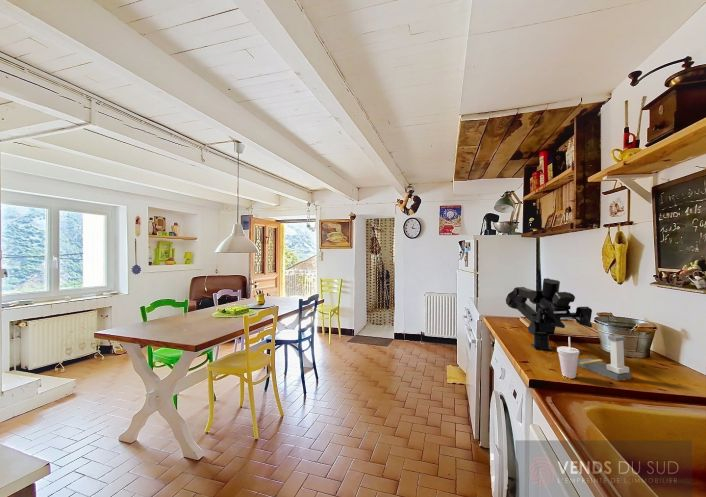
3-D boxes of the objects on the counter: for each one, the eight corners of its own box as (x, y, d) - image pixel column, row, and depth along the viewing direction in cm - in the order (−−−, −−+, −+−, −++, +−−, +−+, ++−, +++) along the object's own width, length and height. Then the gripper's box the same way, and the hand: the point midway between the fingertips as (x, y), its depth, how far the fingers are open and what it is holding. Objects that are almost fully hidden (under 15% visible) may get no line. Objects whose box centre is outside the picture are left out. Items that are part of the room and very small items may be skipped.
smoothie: (584, 381, 101) (583, 340, 101) (563, 380, 102) (561, 339, 102) (574, 373, 107) (573, 334, 107) (554, 372, 108) (552, 334, 108)
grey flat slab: (574, 365, 113) (573, 359, 113) (593, 362, 115) (593, 356, 115) (613, 382, 100) (613, 375, 100) (634, 378, 102) (634, 371, 102)
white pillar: (606, 369, 104) (605, 335, 104) (616, 367, 105) (615, 334, 105) (618, 373, 100) (617, 339, 100) (629, 372, 101) (628, 337, 101)
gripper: (530, 289, 122) (552, 306, 107) (579, 287, 120) (609, 305, 105) (528, 314, 125) (549, 334, 110) (576, 313, 123) (604, 333, 108)
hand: (577, 326), depth 108 cm, fingers open, 9 cm apart
